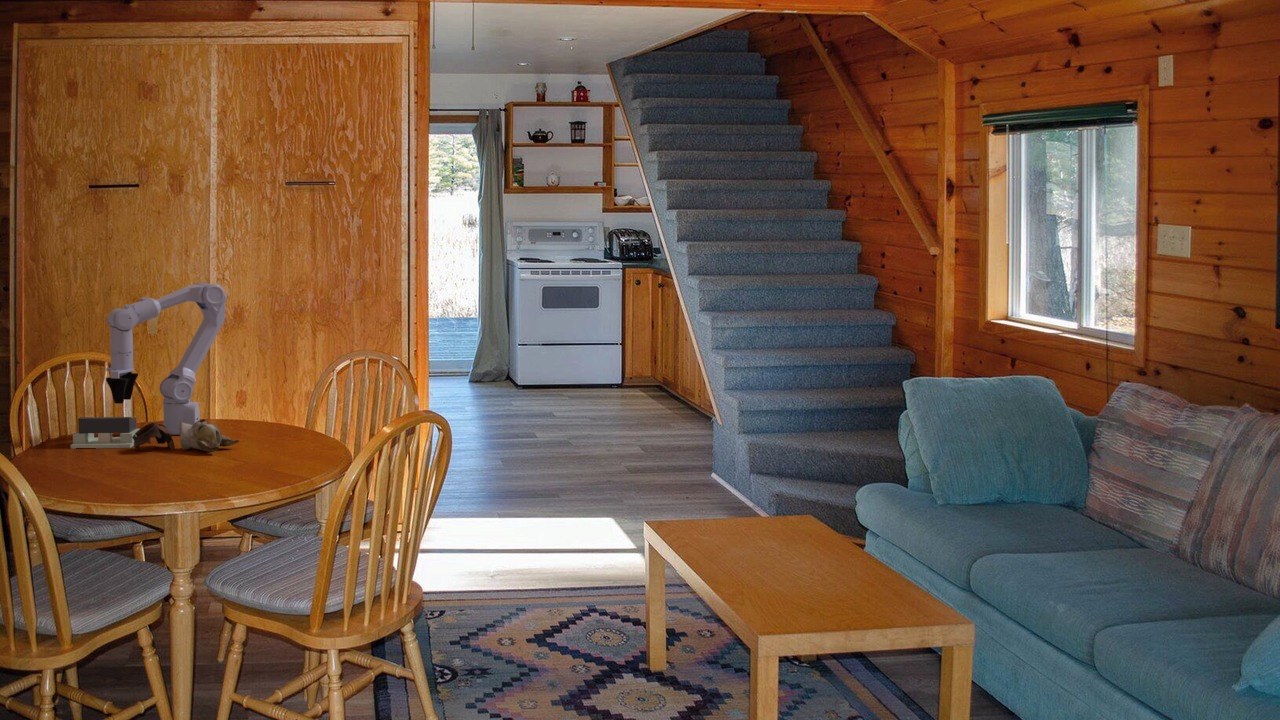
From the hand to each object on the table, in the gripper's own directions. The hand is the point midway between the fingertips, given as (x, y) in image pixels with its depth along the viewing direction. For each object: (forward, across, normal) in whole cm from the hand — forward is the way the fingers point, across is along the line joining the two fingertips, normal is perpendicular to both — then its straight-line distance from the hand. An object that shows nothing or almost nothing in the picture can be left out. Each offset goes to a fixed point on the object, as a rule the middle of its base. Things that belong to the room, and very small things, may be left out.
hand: (122, 401), depth 339 cm
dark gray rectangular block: (+7, +7, -2) cm, 10 cm away
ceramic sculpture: (+11, +18, +26) cm, 33 cm away
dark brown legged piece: (+11, +16, +12) cm, 23 cm away
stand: (+10, +10, -2) cm, 14 cm away
